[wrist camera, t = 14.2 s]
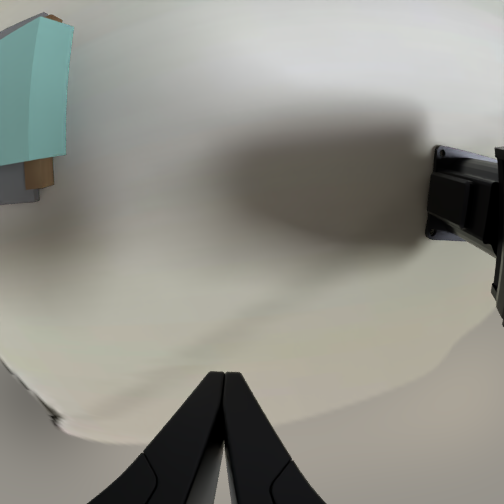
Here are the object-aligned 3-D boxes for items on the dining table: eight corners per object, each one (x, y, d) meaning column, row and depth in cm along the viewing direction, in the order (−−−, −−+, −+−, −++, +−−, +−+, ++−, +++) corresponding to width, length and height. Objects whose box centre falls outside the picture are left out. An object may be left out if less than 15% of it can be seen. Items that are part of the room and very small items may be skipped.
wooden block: (62, 20, 14) (51, 14, 12) (54, 184, 18) (41, 188, 16) (45, 25, 14) (34, 20, 12) (38, 185, 18) (25, 189, 16)
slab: (40, 16, 9) (-36, 65, 11) (28, 160, 12) (-40, 174, 13) (74, 27, 12) (-6, 66, 14) (66, 154, 15) (-10, 167, 16)
